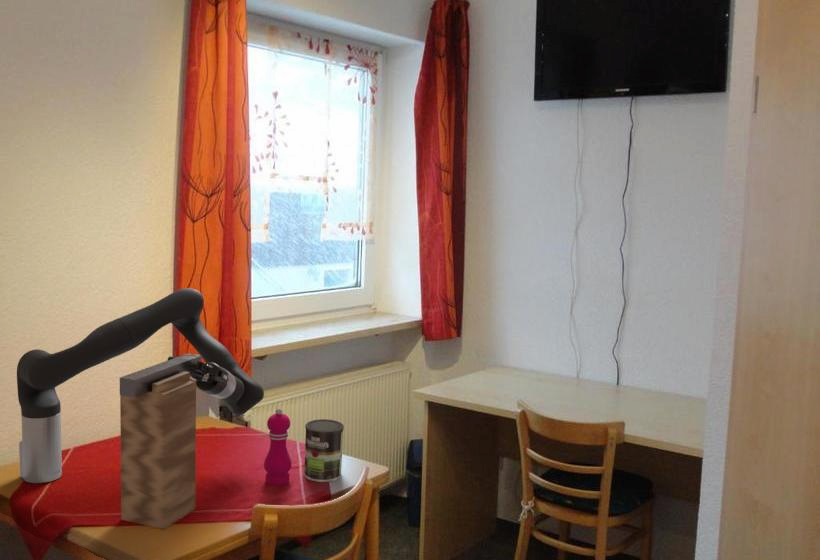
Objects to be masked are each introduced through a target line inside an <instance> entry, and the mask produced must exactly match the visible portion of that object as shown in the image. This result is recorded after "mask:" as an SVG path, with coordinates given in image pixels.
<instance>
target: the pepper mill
mask: <svg viewBox="0 0 820 560" xmlns="http://www.w3.org/2000/svg"><path fill="white" fill-rule="evenodd" d="M266 426H267V429H268V430H269V432H268V438H269V439H270V441H269V442H270V445H269V450H268V452H267V454H266V456H265V458H264V462H263V468H264V470H265V472H266V473H265V480H264V481H265V482H266V484H269V485H271V486H283V485H286V484H287V483H289V482H290V473H289V471H290V470H292V469H291V468H292V465H293V464H292V458H291V456H290V454H289V451H288V448H287V439H288V437H289V431H288V430H289V429H290V427H291V419H290V417H289V416H288V415H287V414H285V413H283V409H282V408H281V407H278V408H276V410H275V413H273V414H271V415H270V416H269V417H268V419H267V422H266Z"/></svg>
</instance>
